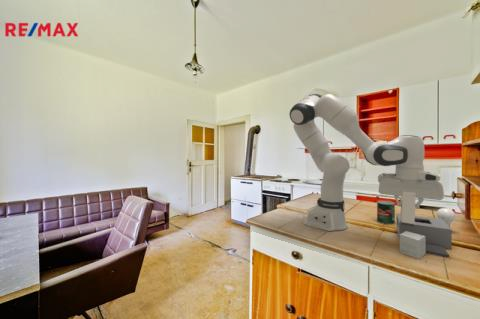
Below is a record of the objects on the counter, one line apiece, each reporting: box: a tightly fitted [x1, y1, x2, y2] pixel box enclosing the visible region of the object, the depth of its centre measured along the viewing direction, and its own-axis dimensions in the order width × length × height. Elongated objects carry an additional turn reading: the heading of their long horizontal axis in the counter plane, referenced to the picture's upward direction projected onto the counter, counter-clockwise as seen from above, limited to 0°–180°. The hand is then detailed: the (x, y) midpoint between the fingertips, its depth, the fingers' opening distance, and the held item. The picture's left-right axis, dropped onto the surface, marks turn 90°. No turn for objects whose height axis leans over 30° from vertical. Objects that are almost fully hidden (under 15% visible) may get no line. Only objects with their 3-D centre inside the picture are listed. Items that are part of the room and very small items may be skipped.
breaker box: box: [395, 213, 453, 250], centre depth 86 cm, size 16×14×8 cm
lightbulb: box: [436, 207, 457, 228], centre depth 92 cm, size 6×6×11 cm
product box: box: [399, 231, 427, 260], centre depth 74 cm, size 6×6×7 cm
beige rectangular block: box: [400, 192, 416, 227], centre depth 80 cm, size 4×4×14 cm
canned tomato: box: [376, 200, 396, 225], centre depth 106 cm, size 8×8×11 cm
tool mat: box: [425, 244, 450, 259], centre depth 75 cm, size 7×7×1 cm
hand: (407, 207), depth 80 cm, fingers closed on beige rectangular block, 4 cm apart
